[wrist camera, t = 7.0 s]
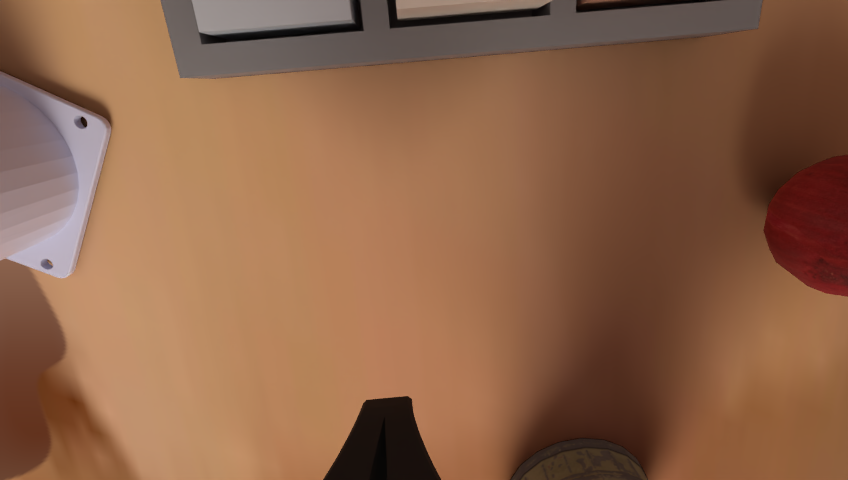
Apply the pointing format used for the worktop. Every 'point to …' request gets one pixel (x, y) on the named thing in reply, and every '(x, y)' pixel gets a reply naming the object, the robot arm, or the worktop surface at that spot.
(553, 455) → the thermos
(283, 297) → the worktop surface
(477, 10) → the cream key
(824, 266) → the onion
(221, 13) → the light gray key
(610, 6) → the terracotta key
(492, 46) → the key panel
